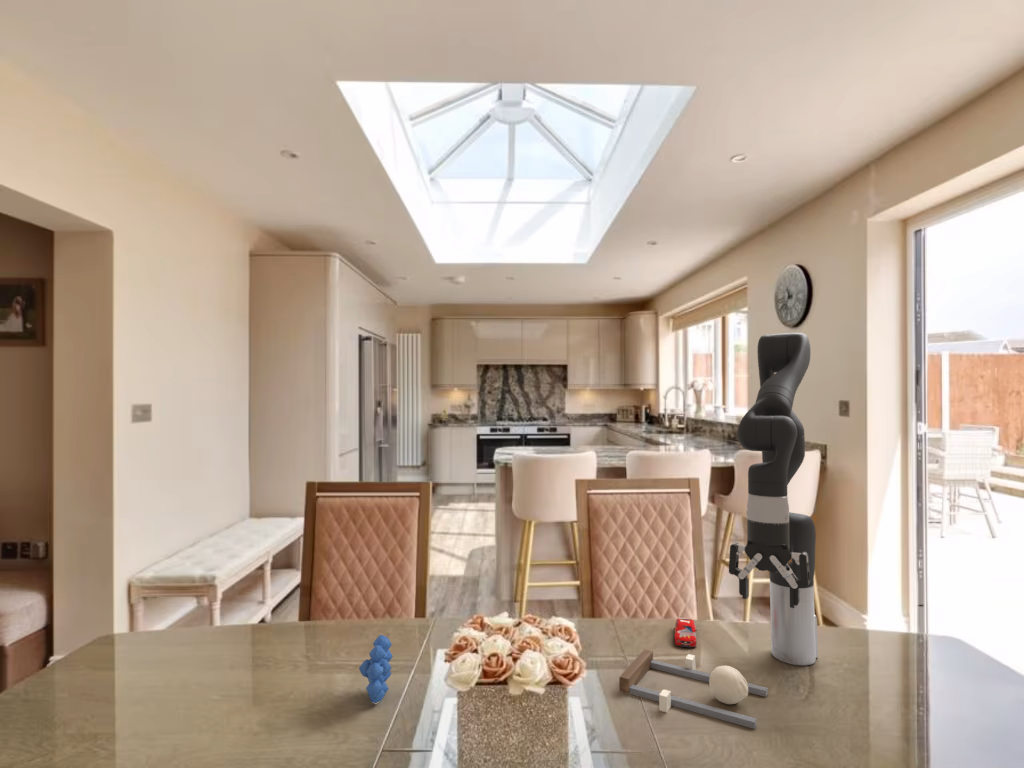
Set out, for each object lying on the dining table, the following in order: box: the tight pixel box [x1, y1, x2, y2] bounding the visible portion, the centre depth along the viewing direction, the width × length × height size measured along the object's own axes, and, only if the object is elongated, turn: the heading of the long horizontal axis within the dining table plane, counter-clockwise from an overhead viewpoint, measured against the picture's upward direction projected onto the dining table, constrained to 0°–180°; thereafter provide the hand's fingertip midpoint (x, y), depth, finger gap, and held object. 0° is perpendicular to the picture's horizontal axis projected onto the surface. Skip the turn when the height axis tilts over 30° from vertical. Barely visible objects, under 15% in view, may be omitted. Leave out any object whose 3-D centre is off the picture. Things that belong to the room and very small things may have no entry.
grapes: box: [358, 634, 394, 704], centre depth 116 cm, size 12×7×12 cm, turn 179°
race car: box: [673, 617, 698, 648], centre depth 143 cm, size 13×5×4 cm, turn 162°
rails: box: [628, 659, 769, 730], centre depth 116 cm, size 24×14×1 cm, turn 57°
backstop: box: [619, 648, 654, 695], centre depth 123 cm, size 2×15×3 cm, turn 147°
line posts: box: [658, 653, 697, 714], centre depth 118 cm, size 2×20×3 cm, turn 147°
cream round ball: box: [708, 665, 749, 705], centre depth 113 cm, size 7×7×7 cm
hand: (768, 602), depth 110 cm, fingers open, 8 cm apart
